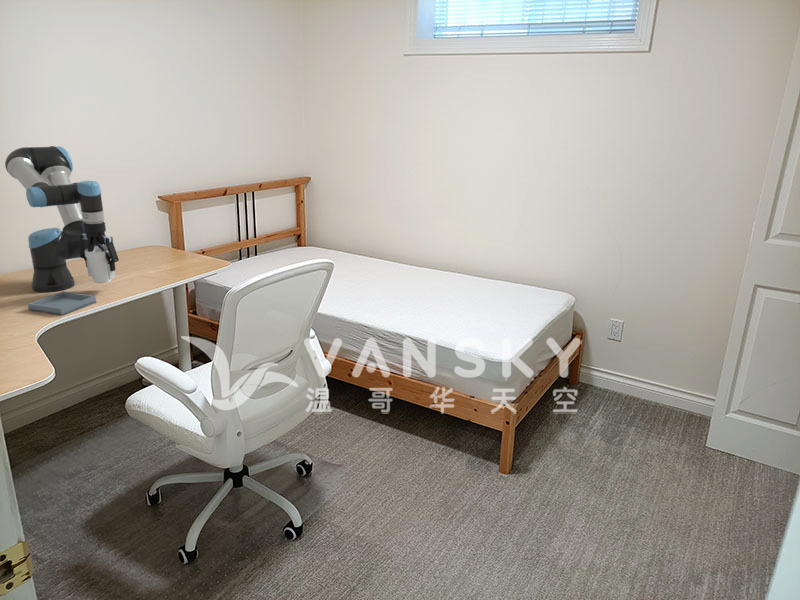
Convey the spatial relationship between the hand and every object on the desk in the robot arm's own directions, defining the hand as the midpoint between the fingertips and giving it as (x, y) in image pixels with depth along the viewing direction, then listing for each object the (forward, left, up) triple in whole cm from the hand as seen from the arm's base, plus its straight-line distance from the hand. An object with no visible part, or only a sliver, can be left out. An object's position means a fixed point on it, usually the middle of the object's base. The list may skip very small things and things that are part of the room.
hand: (102, 276), depth 234 cm
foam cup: (0, 0, -2) cm, 2 cm away
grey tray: (0, -20, -6) cm, 21 cm away
